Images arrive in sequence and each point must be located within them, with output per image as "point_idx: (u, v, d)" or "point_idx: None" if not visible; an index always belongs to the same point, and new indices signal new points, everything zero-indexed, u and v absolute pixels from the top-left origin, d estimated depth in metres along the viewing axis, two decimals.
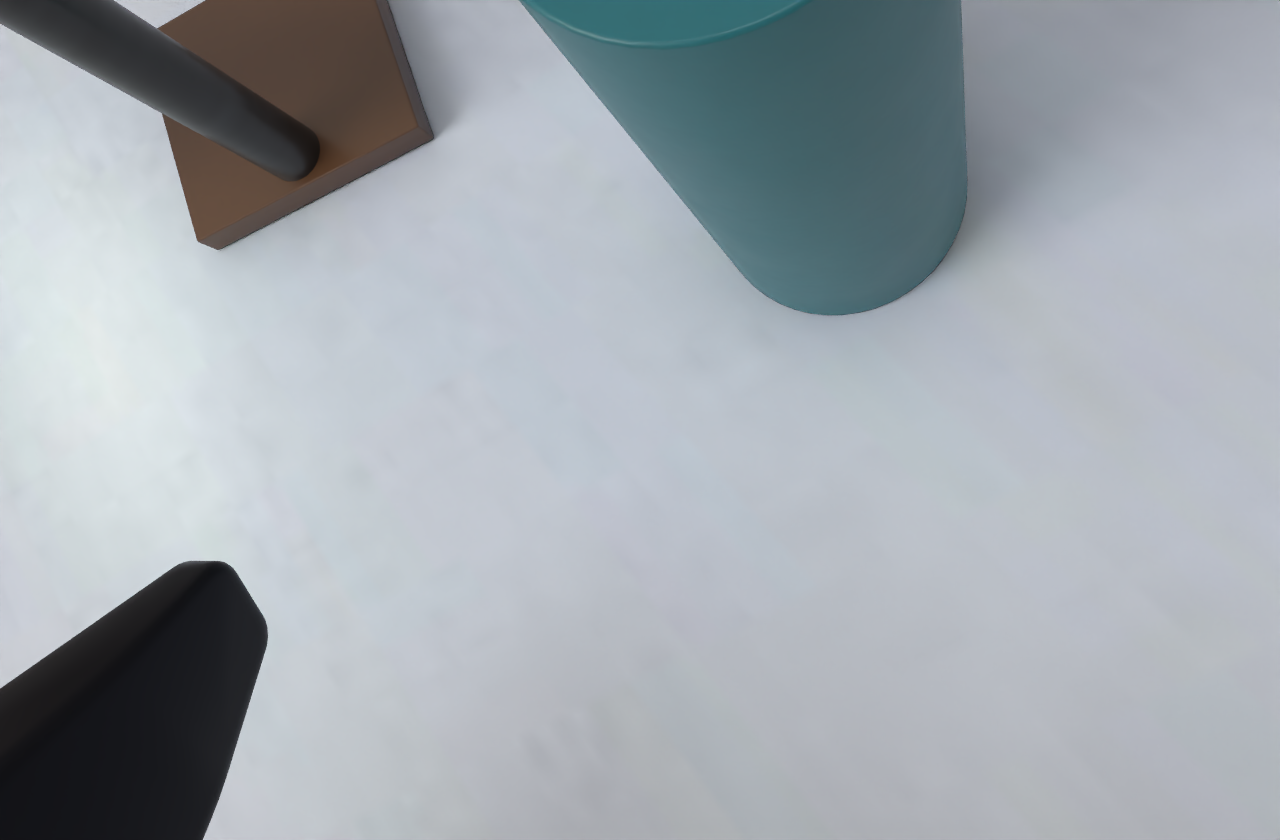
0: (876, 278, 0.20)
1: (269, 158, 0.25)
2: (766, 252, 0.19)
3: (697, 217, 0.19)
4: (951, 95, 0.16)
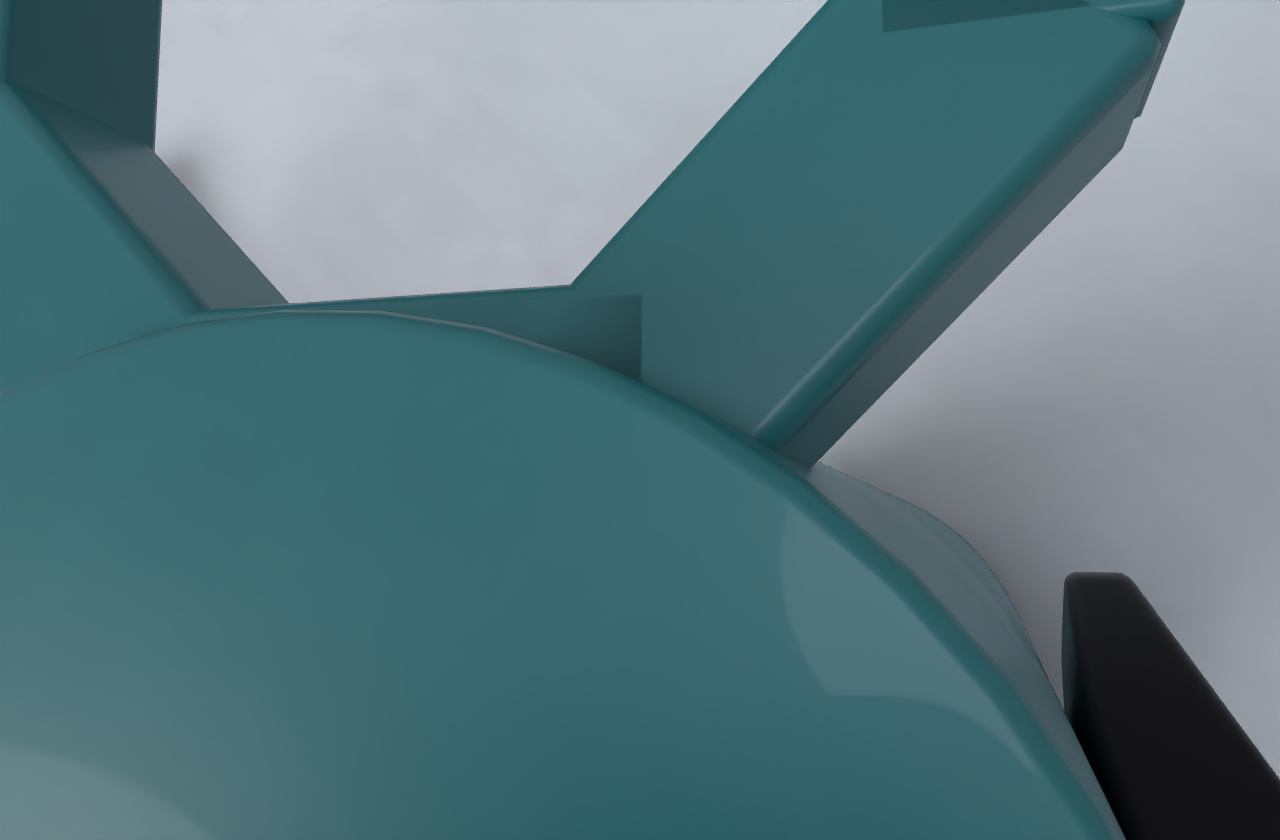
0: None
1: None
2: None
3: None
4: None
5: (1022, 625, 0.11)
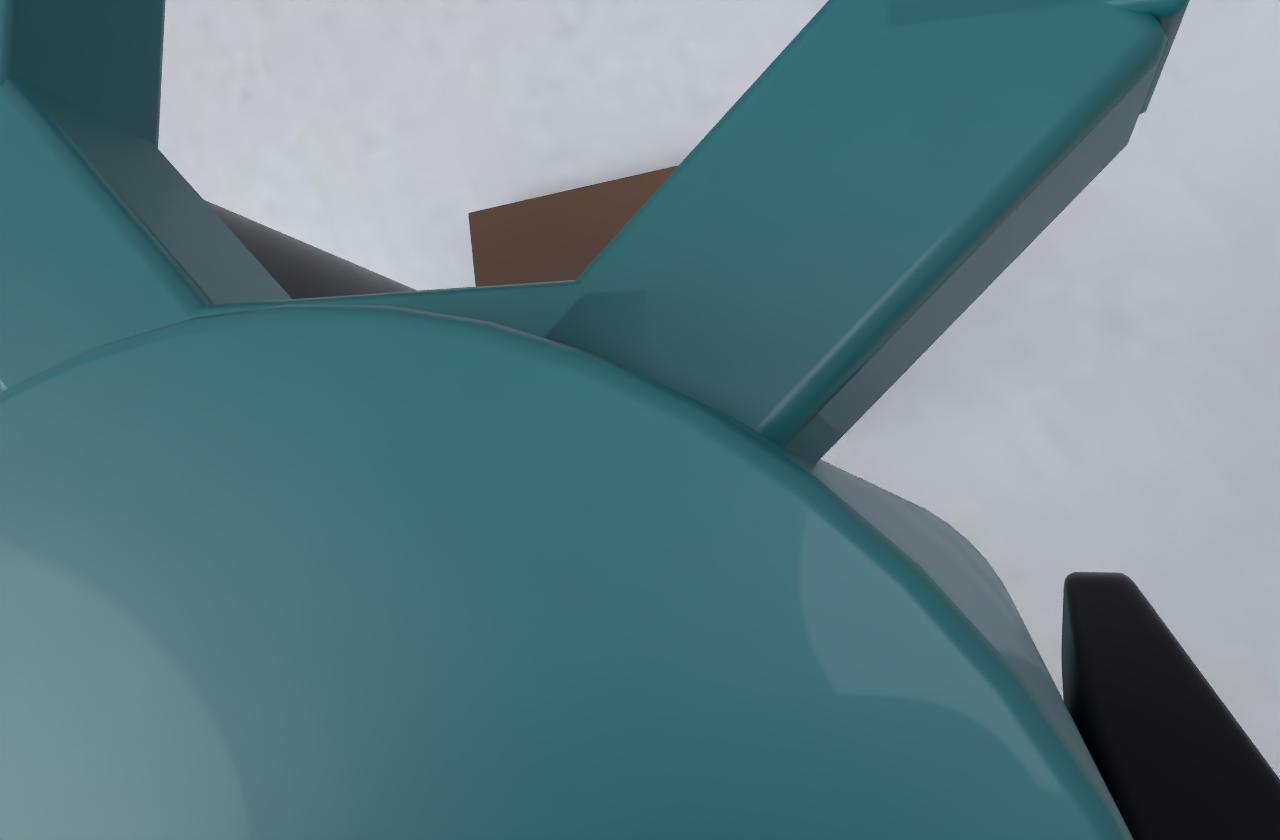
0: None
1: None
2: None
3: None
4: None
5: None
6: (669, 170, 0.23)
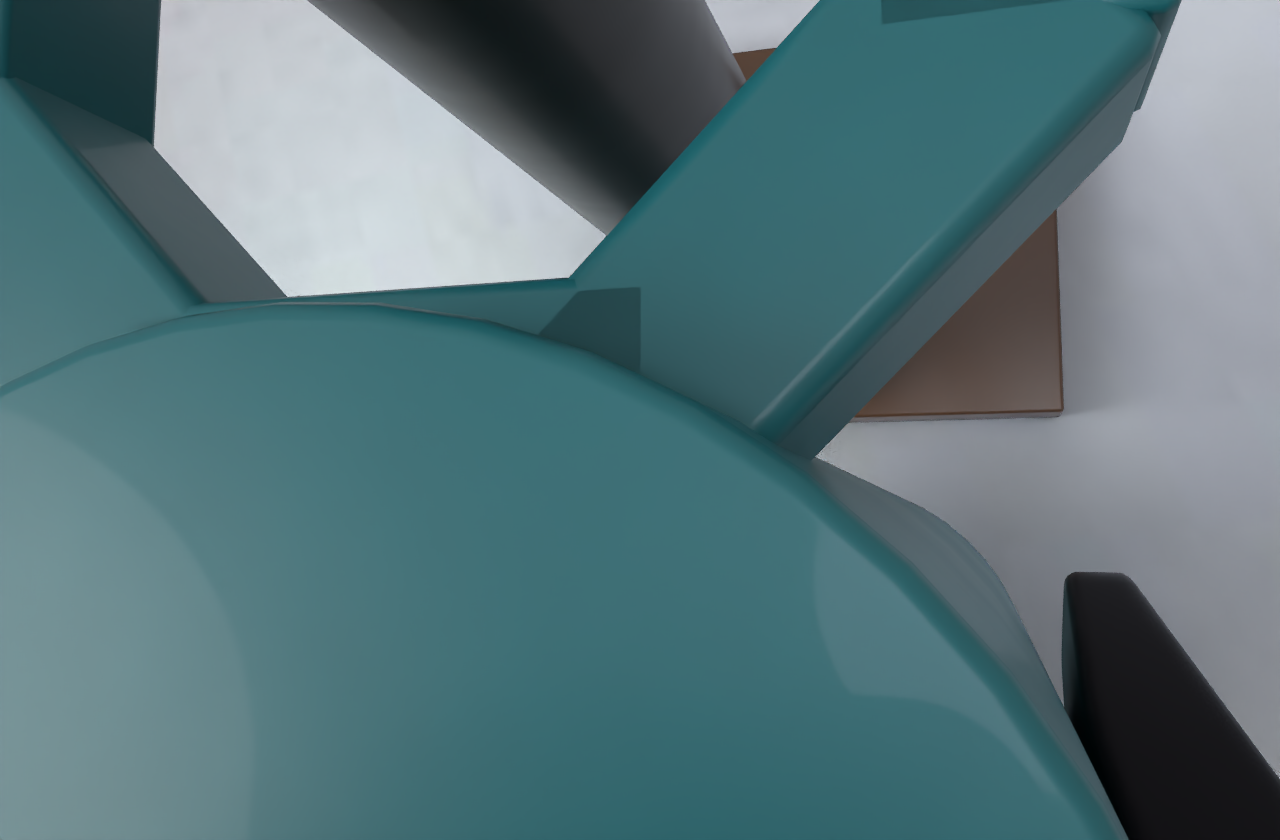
0: None
1: None
2: None
3: None
4: None
5: None
6: None
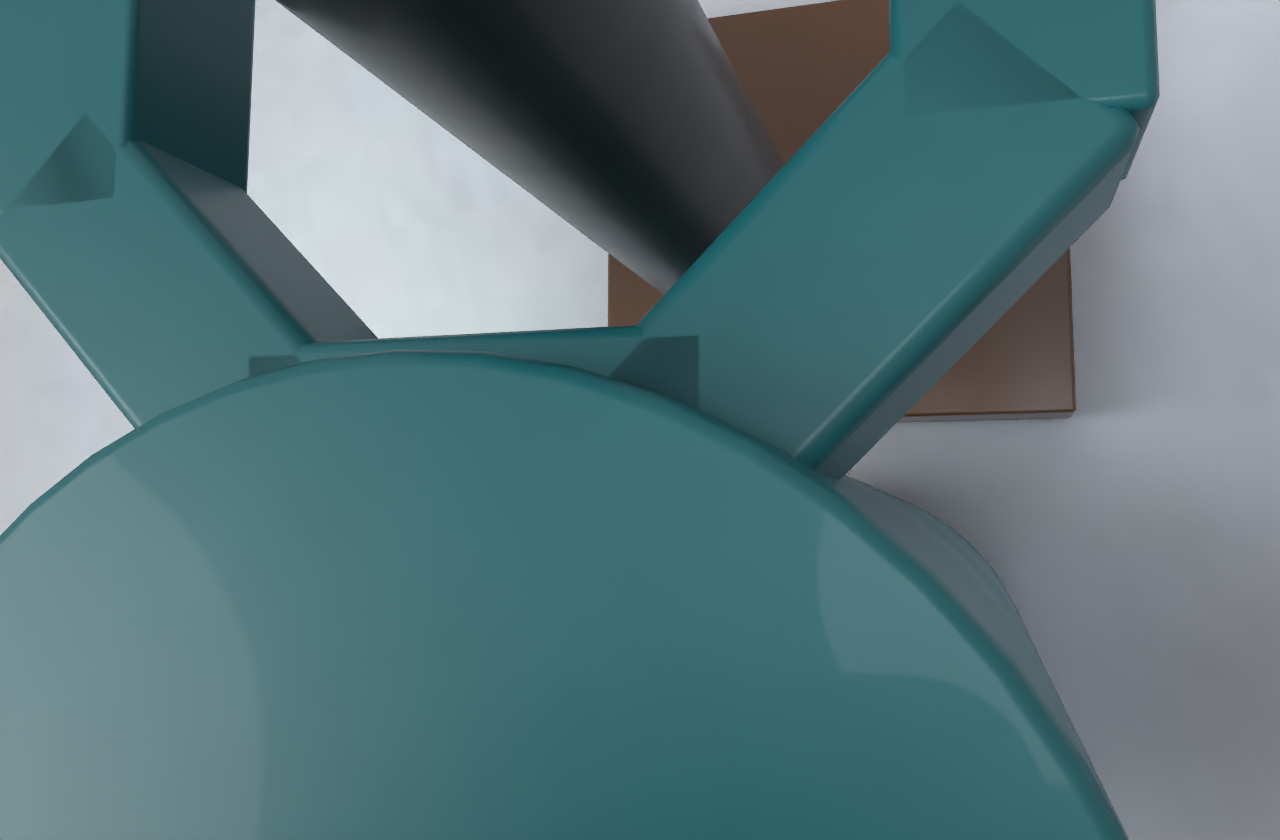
0: None
1: None
2: None
3: None
4: None
5: None
6: None
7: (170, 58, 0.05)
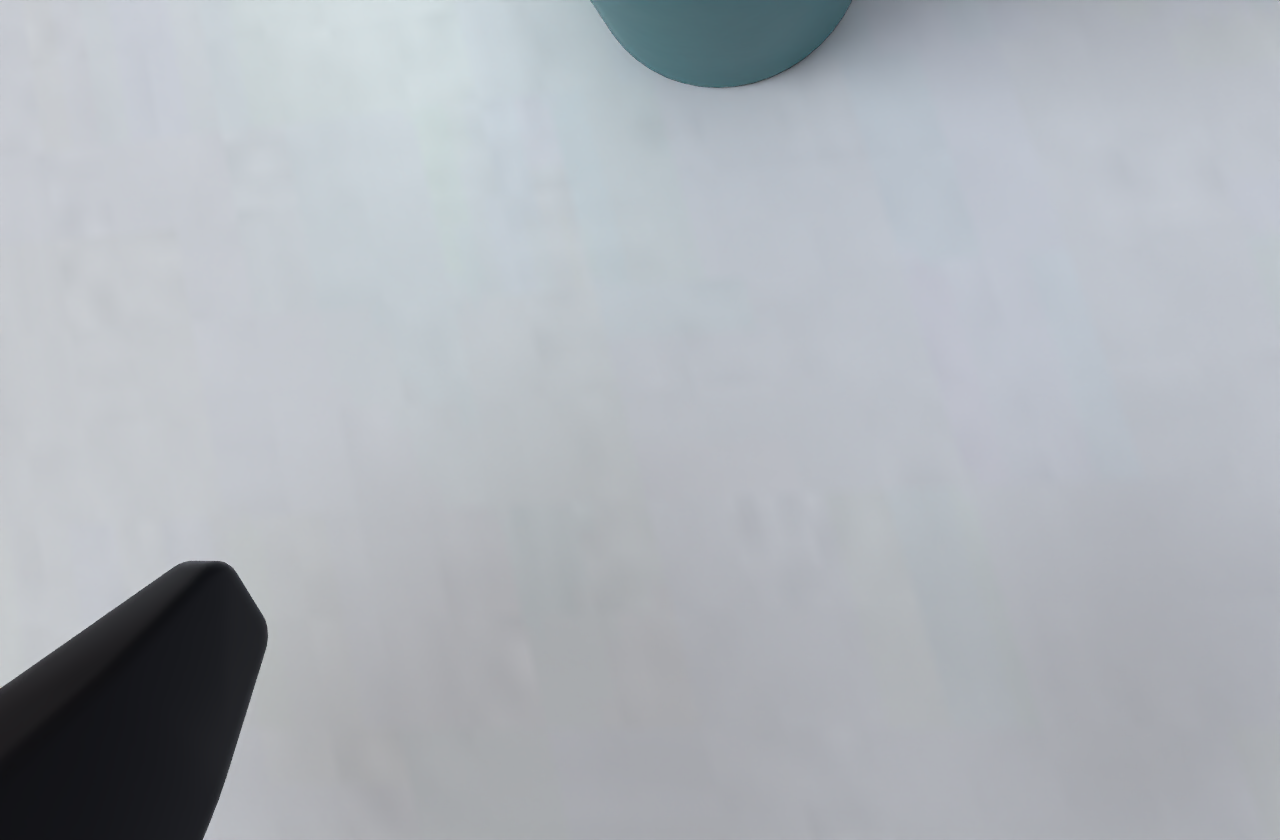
0: (757, 44, 0.18)
1: None
2: None
3: None
4: None
5: None
6: None
7: None
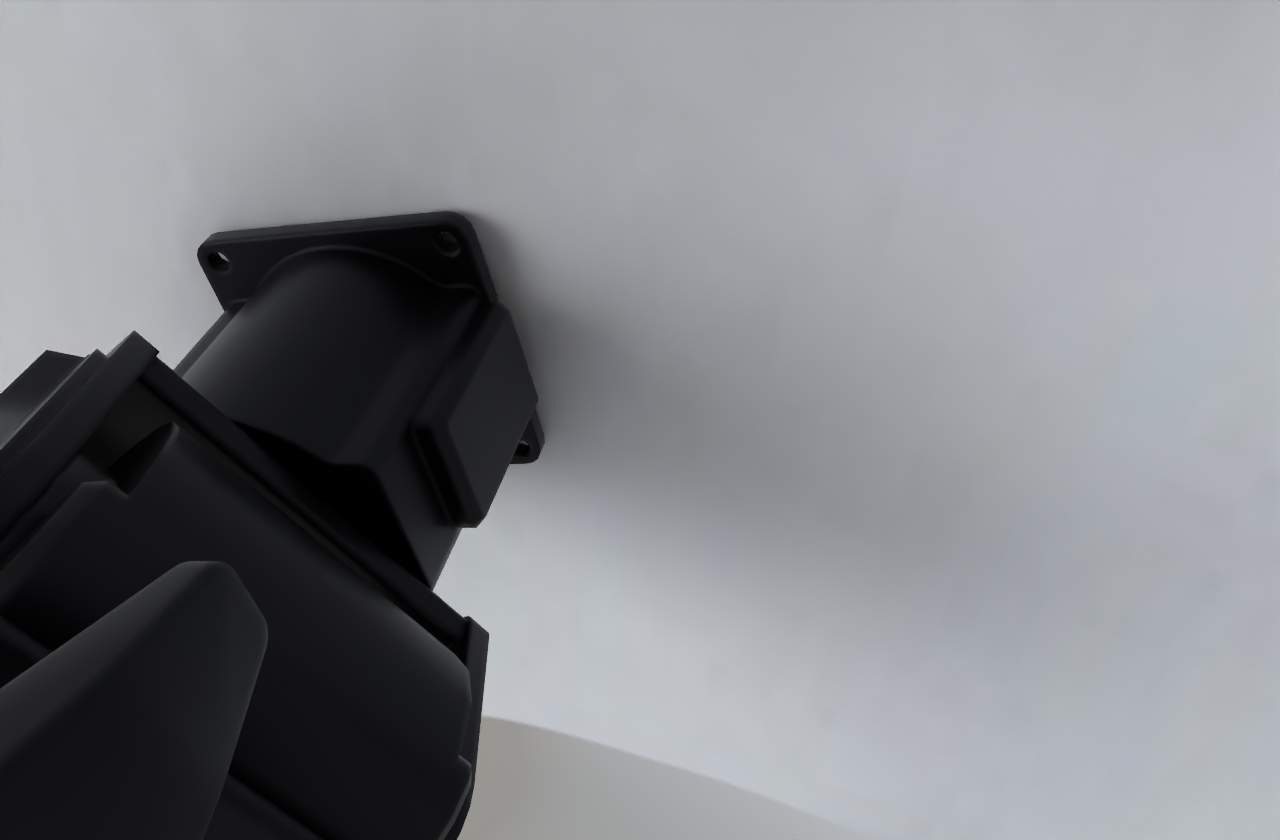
0: None
1: None
2: None
3: None
4: None
5: None
6: None
7: None
